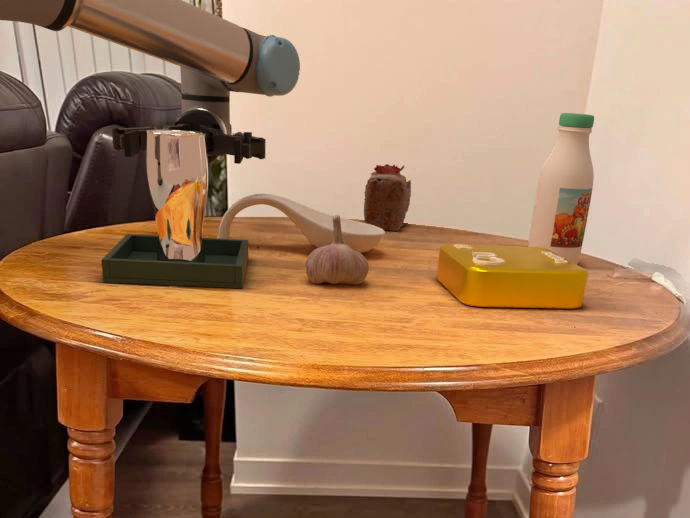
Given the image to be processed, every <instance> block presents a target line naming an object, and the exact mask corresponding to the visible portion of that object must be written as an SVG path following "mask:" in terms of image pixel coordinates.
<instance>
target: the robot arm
mask: <svg viewBox="0 0 690 518" xmlns="http://www.w3.org/2000/svg"><path fill="white" fill-rule="evenodd" d="M0 21H7V22H16V23H17V22H19V23H24V24H30V25H35V26H38V27H40V28H44V29H47V30H50V31H52V32H61V31H63V30H64V29H66V28H67V27H69V28H72V29H74V30H77V31H80V32H83V33H85V34H89V35H91V36H94V37H96V38H99V39H102V40H105V41H108V42H111V43H114V44H116V45H120V46H122V47H125V48H127V49H130V50H133V51H136V52H138V53H141V54H145V55H147V56H150V57H153V58H156V59H159V60H160V61H161V60H162V61H164V62H166V63H169V64H172V65H176V66H178V67H180V70H179V71H180V87H181V88H180V89H181V93H180V94H181V114H180V115H179V116H178V117H177V118H176V119H175V120H174V123H173V124H172V125H164V126H163V127H162V128H161V130H183V131H194V132H201V133H204V134H205V141H206V150H207V160H208V165H210V164H212V163H214V162H215V161H216V160H217V159H218V158H219V157H222V156H224V155H228V156H233V163H234V164H239V165H241V163H242V162H243V160H244V159H246V160H249V159H252V158H257V159H259V160H265V159H266V138H263V137H261V136H260V137H258V136H255V135H253V132H252V131H243V132H241V131H238V132H232V124H231V108H230V105H231V104H230V103H231V92H232V93H233V92H234V93H245V94H252V95H253V94H254V95H262V96H263V95H264V96H266V97H270V98H271V97H274V96H276V97H277V96H279V97H280V96H281V97H282V96H286V95H287V94H288V95H289V93H291V92H292V91H293V90H294V88H296V86H297V84H298V81H299V78H300V77H299V76H300V72H301V71H300V70H301V61H300V56H299V53H298V50H297V48H296V46H295V45H294V44H293V43H292V41H290V40H288V39H287V38H286V37H282V36H281V37H280V36H276V35H273V34H269V35H263V34H259V33H257V32H254V31H252V30H250V29H248V28H246V27H242V26H240V25H238V24H236V23H234V22H233V21H229V20H228V19H225V18H222V17H220V16H218V15H216V14H214V13H211V12H209V11H207V10H205V9H203V8H200V7H199V6H195V5H194V4H191V3H189V2H186V1H185V0H0ZM147 130H158V128H157V127H156V126H154V125H149V126H144V127H143V126H142V127H122V128H121V127H120V128H119V127H113V128H111V138H112V149H113V150H116V151H120V150H123V151H124V157H125V158H134V157H135V156H136V155H138V154H141V151H147Z"/></svg>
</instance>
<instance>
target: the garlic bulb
mask: <svg viewBox="0 0 690 518" xmlns="http://www.w3.org/2000/svg"><path fill="white" fill-rule="evenodd" d="M332 216H333V228H334V238H333V242H332V244H331V245H326V246H323V247H320V248H317V247H316V248H315V249H313V250H312V251H311V252H310V253H309V255H308V256H307V258H306V262H305V268H306V269H305V270H306V276H307V278H308V280H309V281H310V282H312V283H314V284H322V283H330V284H332V285H336V284H342V285H344V284H345V285H346V284H349V285H359V284H361V283H362V284H363V282H364V281H365V280H366V278H367V277H368V274H369V272H370V271H369V270H370V266H369V262H368V260H367V258H366V257H365V255H363V253H360V252H358V251H355V250H353V249H352V248H351V247H350V246H348V245H346V244H344V240H343V236H342V231H341V223H340V217H341V215H340V214H335V215H332Z"/></svg>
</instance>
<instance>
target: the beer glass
mask: <svg viewBox="0 0 690 518" xmlns="http://www.w3.org/2000/svg"><path fill="white" fill-rule="evenodd" d="M145 155H146V157H145V158H146V176H147V177H146V178H147V185H148V190H149V195H150V201H151V205H152V210H153V214H154V219H155V223H156V229H157V235H158V250H157V258H156V261H176V262H197V263H207V261H206V256H205V251H204V245H203V238H204V221H205V214H206V209H207V208H206V207H207V202H208V201H207V199H208V189H209V164H208V160H207V150H206V141H205V134H204V133H201V132H194V131H183V130H162V129H157V130H147V150H146V154H145Z"/></svg>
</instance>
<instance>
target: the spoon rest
mask: <svg viewBox="0 0 690 518" xmlns="http://www.w3.org/2000/svg"><path fill="white" fill-rule="evenodd" d="M257 205H258V206H259V205H265V206H270V207H273V208H275V209H277V210H279V211H280V212H281V213H283V214H284V215H285V216H286V217H287V218H289V220H291V221H292V222H293V223H294V226H296V228H298V229H299V231H301V233H302V234H303V236H304V237H305V238H306V239H307V240H308V241H309V242H310V243H311V244H312V245H313V246H315V248H316V249H317V248H320V247H323V246H326V245H331V244H332V242H333V238H334V228H333V216H334V215H332V214H329V213H326V212H323V211H322V212H321V211H318V210H316V209H313V208H312V207H308V206H306V205H304V204H301V203H299V202H297V201H295V200H291V199H289V198H285V197H282V196H280V195H275V194H270V193H255V194H251V195H247V196H244V197H242V198H240V199H238V200H237V201H235V202H234V203H233V204H232V205H231V206H230V207H229V208H228V209H227V210H226V211H225V212H224V214H223V216H222V218H221V219H220V223H219V225H218V229H217V237H216V238H218V239H230V232H231V226H232V223H233V220H234V219H235V217H236V216H237V215H238V214H239V213H240V212H241V211H243V210H245V209H247V208H249V207H253V206H257ZM340 223H341V231H342V236H343V240H344V244H346V245H348V246H350V247H351V248H352V249H353V250H355V251H358V252H360V253H361V254H363V253H366V252H368V251H371V250H372V249H374V248H375V247H376V246H377V245H379V243H381V241H382V240H383V239H384V238H385V235H386V230H383V229H381V228H379V227H376V226H374V225H371V224H367V223H365V222H362V221H358V220H353V219H349V218H345V217H341V216H340Z"/></svg>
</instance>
